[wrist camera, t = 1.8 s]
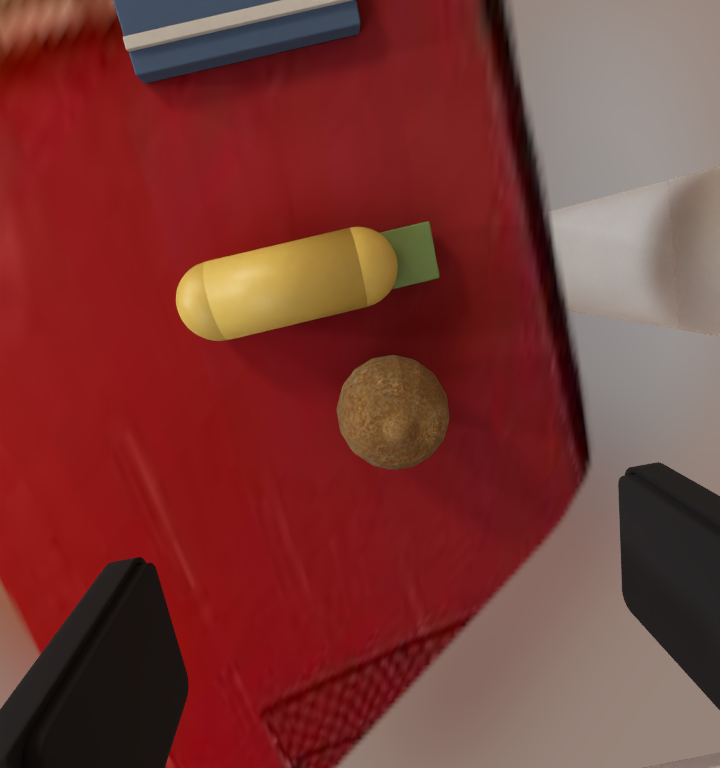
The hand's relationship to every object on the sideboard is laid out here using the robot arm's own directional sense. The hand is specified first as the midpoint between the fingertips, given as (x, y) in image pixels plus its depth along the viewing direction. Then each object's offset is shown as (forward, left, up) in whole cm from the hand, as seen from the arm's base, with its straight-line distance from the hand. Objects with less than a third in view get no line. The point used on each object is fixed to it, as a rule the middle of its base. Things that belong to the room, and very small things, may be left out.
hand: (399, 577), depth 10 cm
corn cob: (+1, -6, -22) cm, 22 cm away
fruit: (-2, +2, -22) cm, 22 cm away
